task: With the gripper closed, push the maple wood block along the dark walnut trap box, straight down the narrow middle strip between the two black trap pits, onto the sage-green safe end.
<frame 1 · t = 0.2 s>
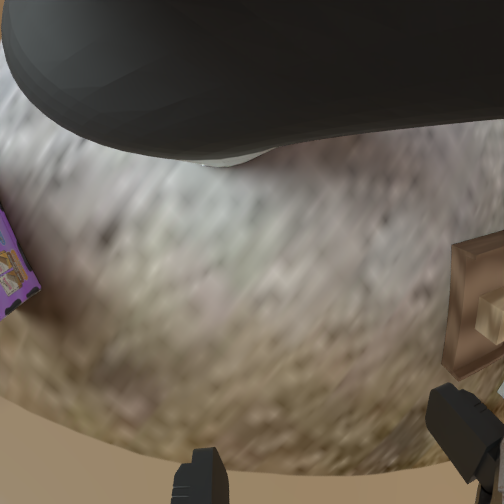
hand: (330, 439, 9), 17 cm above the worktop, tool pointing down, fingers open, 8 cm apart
maple block: (488, 307, 26), point 2 cm above the worktop, touching trap box
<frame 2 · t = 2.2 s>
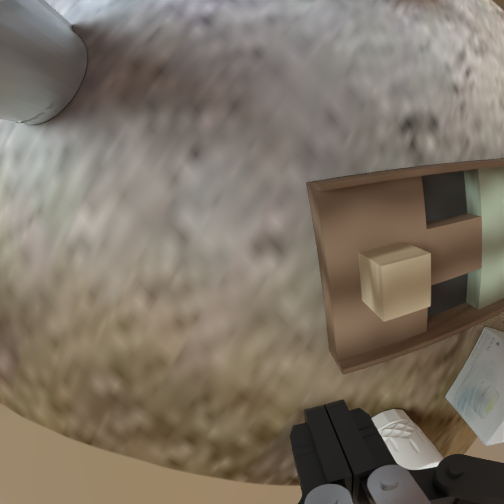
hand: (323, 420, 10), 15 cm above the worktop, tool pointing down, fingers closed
skincare box: (475, 364, 30), on the worktop
maple block: (382, 271, 23), point 2 cm above the worktop, touching trap box
white cup: (382, 427, 31), on the worktop
trap box: (441, 244, 26), on the worktop
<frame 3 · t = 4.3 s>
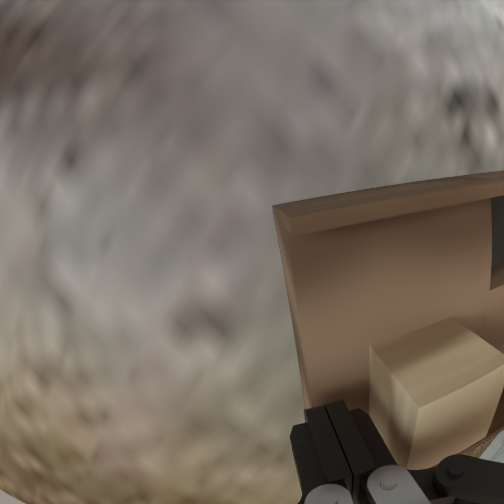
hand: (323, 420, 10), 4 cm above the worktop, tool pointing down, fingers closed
maple block: (410, 370, 11), point 3 cm above the worktop, touching gripper, trap box
trap box: (496, 300, 14), on the worktop
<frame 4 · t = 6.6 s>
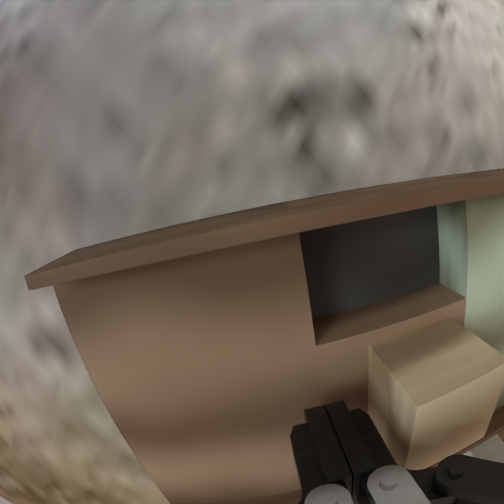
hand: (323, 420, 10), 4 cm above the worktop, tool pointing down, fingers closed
skincare box: (441, 472, 18), on the worktop
maple block: (409, 369, 11), point 2 cm above the worktop, touching gripper, trap box
trap box: (377, 345, 14), on the worktop
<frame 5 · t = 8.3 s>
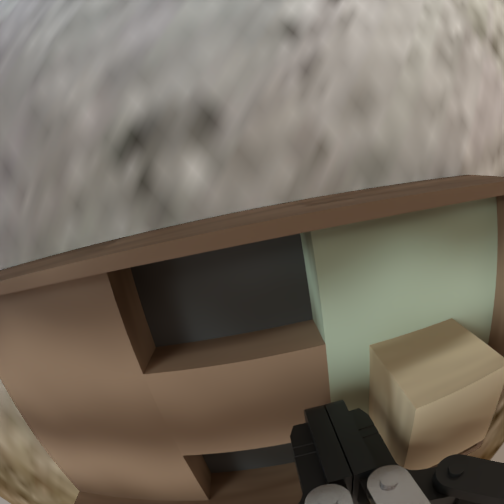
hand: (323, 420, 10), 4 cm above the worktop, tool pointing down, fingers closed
maple block: (411, 370, 11), point 2 cm above the worktop, touching gripper, trap box
trap box: (243, 377, 14), on the worktop
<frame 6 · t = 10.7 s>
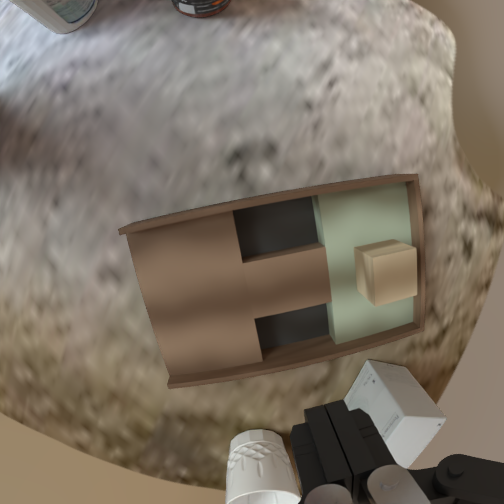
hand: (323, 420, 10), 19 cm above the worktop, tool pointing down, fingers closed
skincare box: (364, 396, 33), on the worktop
maple block: (375, 264, 26), point 2 cm above the worktop, touching trap box
spray can: (73, 12, 21), on the worktop
white cup: (256, 444, 33), on the worktop
trap box: (284, 275, 29), on the worktop
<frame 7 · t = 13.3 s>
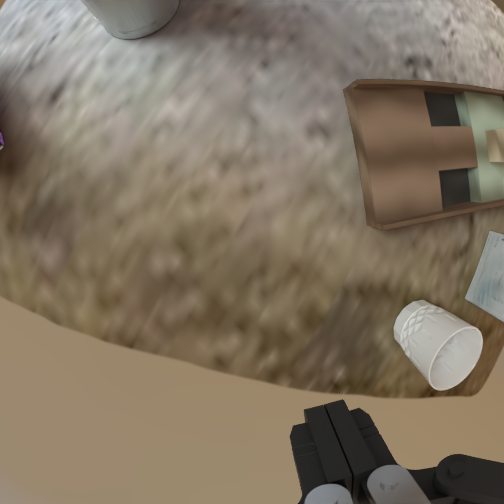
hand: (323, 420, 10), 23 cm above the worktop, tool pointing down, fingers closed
skincare box: (487, 270, 36), on the worktop
maple block: (496, 146, 29), point 2 cm above the worktop, touching trap box
white cup: (413, 322, 36), on the worktop
trap box: (444, 148, 31), on the worktop
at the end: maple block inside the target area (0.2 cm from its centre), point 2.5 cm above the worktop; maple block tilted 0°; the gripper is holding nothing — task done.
